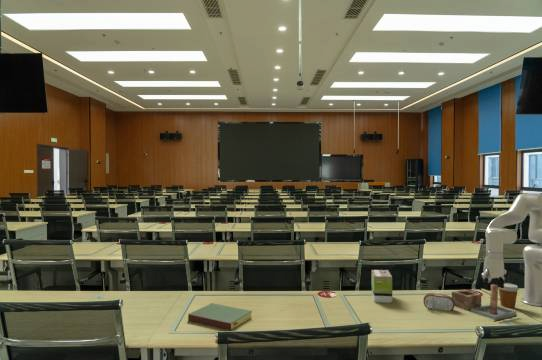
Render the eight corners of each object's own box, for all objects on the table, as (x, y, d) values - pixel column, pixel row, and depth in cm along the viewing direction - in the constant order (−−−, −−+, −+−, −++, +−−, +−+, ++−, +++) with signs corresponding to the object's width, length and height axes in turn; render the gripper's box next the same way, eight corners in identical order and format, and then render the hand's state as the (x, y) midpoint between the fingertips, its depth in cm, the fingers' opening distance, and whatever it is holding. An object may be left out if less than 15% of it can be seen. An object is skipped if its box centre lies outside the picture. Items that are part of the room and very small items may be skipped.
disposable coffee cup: (521, 311, 211) (521, 288, 210) (501, 310, 213) (501, 287, 212) (514, 305, 220) (514, 283, 220) (494, 304, 222) (495, 282, 222)
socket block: (464, 304, 222) (464, 289, 221) (481, 309, 213) (481, 294, 212) (451, 306, 217) (451, 291, 217) (467, 312, 208) (468, 297, 208)
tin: (454, 311, 209) (454, 295, 209) (454, 313, 207) (454, 297, 206) (423, 307, 216) (423, 291, 216) (423, 309, 213) (423, 293, 213)
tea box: (371, 294, 239) (371, 269, 239) (388, 295, 238) (388, 269, 237) (373, 302, 224) (374, 275, 224) (392, 303, 223) (393, 276, 223)
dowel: (492, 311, 207) (493, 284, 207) (498, 313, 204) (499, 285, 204) (488, 312, 205) (489, 284, 205) (494, 314, 203) (495, 286, 202)
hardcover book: (188, 322, 195) (188, 314, 195) (211, 310, 212) (211, 303, 211) (231, 332, 183) (231, 323, 183) (253, 318, 200) (253, 311, 200)
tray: (492, 308, 214) (492, 304, 214) (516, 316, 202) (516, 311, 202) (471, 313, 207) (471, 308, 207) (494, 321, 195) (494, 316, 195)
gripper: (498, 251, 211) (498, 284, 212) (475, 255, 204) (475, 289, 204) (512, 254, 204) (512, 288, 205) (489, 257, 197) (489, 293, 197)
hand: (494, 288), depth 205 cm, fingers open, 9 cm apart
